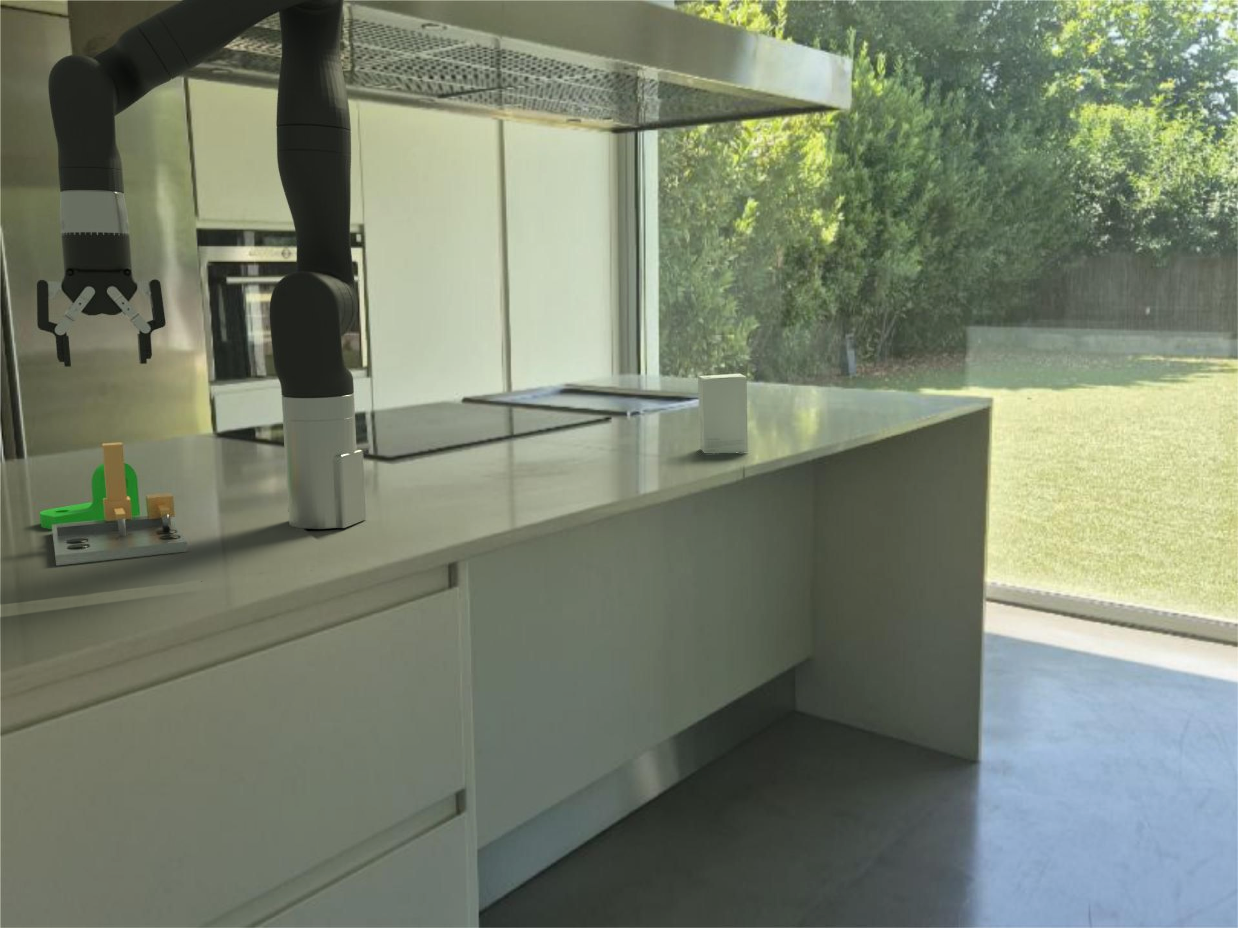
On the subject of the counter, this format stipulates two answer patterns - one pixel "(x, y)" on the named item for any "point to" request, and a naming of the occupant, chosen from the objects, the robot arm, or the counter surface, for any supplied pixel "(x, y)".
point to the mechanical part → (96, 507)
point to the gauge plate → (106, 544)
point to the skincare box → (723, 413)
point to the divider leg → (115, 486)
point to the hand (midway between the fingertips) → (105, 365)
